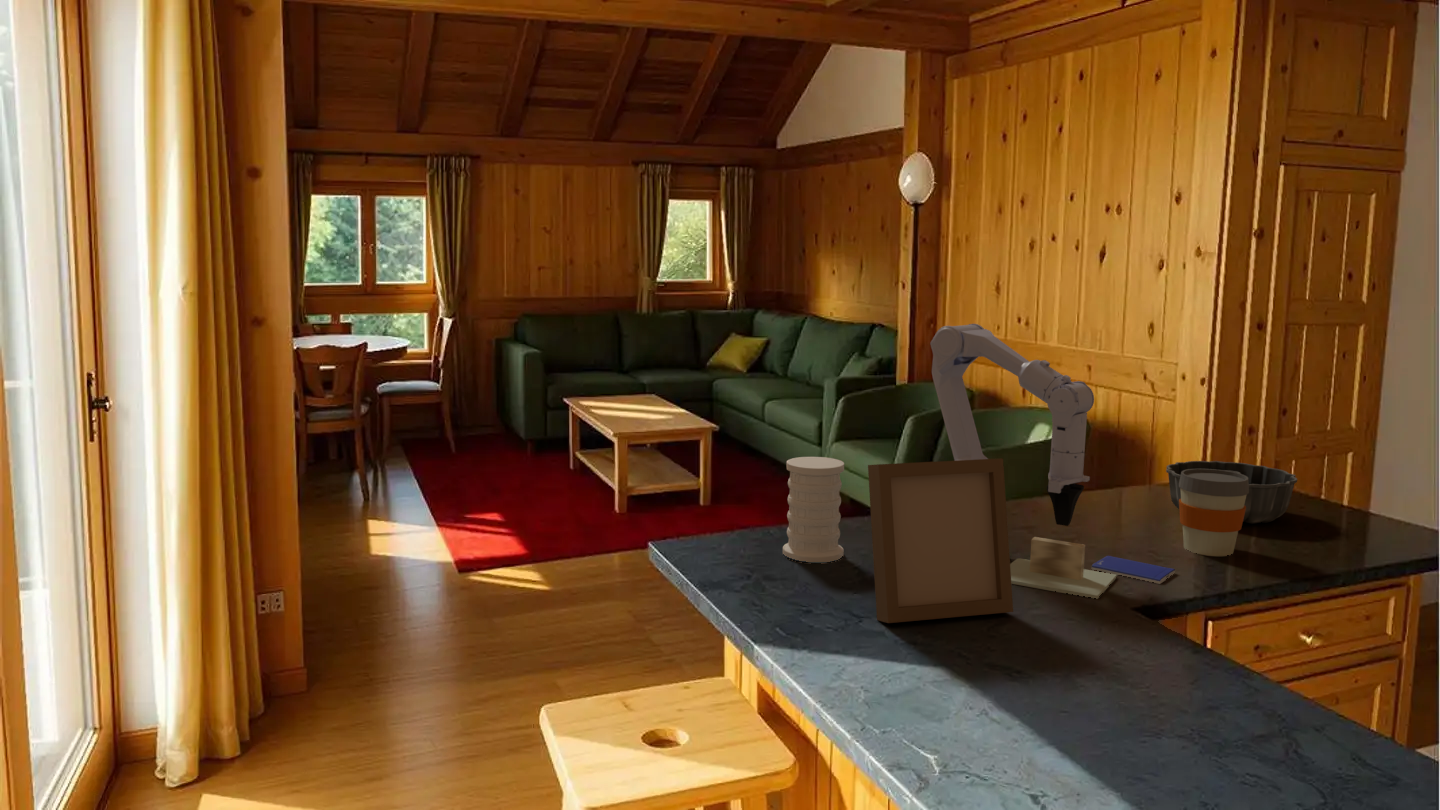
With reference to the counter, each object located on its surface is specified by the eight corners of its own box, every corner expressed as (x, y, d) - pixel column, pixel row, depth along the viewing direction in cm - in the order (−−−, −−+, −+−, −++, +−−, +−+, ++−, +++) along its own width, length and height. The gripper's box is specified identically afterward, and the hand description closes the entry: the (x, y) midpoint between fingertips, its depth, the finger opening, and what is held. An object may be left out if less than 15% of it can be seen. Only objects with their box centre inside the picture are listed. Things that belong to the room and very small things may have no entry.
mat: (993, 580, 195) (993, 577, 195) (1017, 561, 207) (1017, 558, 207) (1097, 599, 186) (1097, 595, 186) (1116, 577, 197) (1116, 574, 197)
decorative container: (822, 567, 202) (825, 471, 199) (770, 555, 209) (772, 463, 206) (854, 553, 211) (857, 461, 208) (803, 542, 218) (806, 453, 215)
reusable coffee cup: (1229, 542, 222) (1236, 469, 219) (1253, 560, 209) (1260, 483, 207) (1165, 539, 223) (1171, 467, 220) (1185, 557, 210) (1191, 481, 208)
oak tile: (1029, 571, 199) (1031, 539, 198) (1032, 568, 200) (1034, 536, 199) (1080, 580, 194) (1082, 547, 193) (1083, 577, 196) (1085, 544, 195)
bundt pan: (1139, 503, 254) (1142, 460, 252) (1241, 499, 258) (1245, 457, 257) (1209, 533, 228) (1213, 486, 227) (1321, 529, 233) (1326, 483, 231)
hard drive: (1091, 564, 202) (1160, 578, 194) (1108, 554, 208) (1175, 568, 200) (1091, 572, 202) (1159, 587, 194) (1107, 562, 208) (1174, 576, 201)
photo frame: (1012, 617, 176) (1021, 465, 172) (887, 629, 171) (893, 471, 167) (968, 588, 190) (975, 447, 187) (851, 598, 185) (856, 452, 181)
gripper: (1079, 459, 187) (1074, 537, 189) (1101, 446, 199) (1096, 519, 201) (1038, 454, 191) (1033, 530, 193) (1062, 442, 203) (1057, 513, 205)
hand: (1062, 524), depth 198 cm, fingers closed
